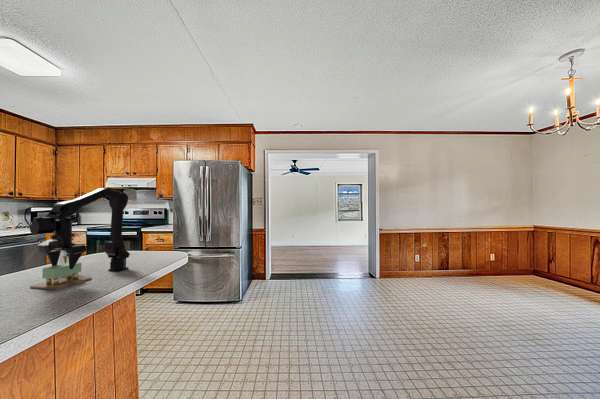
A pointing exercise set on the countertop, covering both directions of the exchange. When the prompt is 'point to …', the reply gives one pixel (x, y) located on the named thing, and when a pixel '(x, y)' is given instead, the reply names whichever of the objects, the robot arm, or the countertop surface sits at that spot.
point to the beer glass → (63, 257)
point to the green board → (60, 270)
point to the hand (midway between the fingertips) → (62, 268)
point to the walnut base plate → (61, 282)
